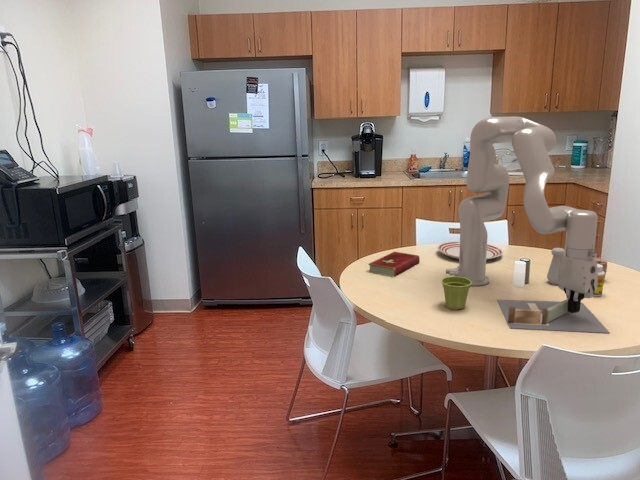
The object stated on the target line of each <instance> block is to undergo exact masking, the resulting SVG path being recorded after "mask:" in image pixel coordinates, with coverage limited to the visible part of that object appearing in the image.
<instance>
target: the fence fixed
mask: <svg viewBox="0 0 640 480" xmlns="http://www.w3.org/2000/svg"><path fill="white" fill-rule="evenodd" d="M547 311H548V309H546V308H544V309H543V315H542V324H546V321H547ZM540 320H541V310H533V309H516V308H515V307H509V315H508V322H509V323H526V324H540Z"/></svg>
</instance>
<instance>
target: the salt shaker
mask: <svg viewBox="0 0 640 480" xmlns="http://www.w3.org/2000/svg"><path fill="white" fill-rule="evenodd" d="M550 252H551V255H552V259H551V262H550V264H549V268H548V271H547V274H546V279H547V280H548V283H549V284H551V285H553V286H559V284H558V272H559V266H560V262H561V259H562V256H563V255H564V253H565V248H561V247H554V248H552V249H551V251H550Z"/></svg>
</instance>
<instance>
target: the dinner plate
mask: <svg viewBox="0 0 640 480" xmlns="http://www.w3.org/2000/svg"><path fill="white" fill-rule="evenodd" d="M437 250H438V251H439V252H440V253H441V254H443V255H445V256H447V257H450V258H452V259H455V260H458V261H459V253H460V240H458V241H447V242H443V243H440V244H439V245H438V246H437ZM503 254H504V251H503V250H502V249H501V248H499V247H498V246H496V245H492V244H489V243H487V256H486V261H487V260H491V259H495V258H498V257H500V256H502V255H503Z"/></svg>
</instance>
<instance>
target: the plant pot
mask: <svg viewBox="0 0 640 480" xmlns="http://www.w3.org/2000/svg"><path fill="white" fill-rule="evenodd" d="M454 276H455V275H451V276H446V277H443V278H442V279H440V282H441V284H442V287H443V293H444V295H443V296H444V301H445V302H444V303H445V306H446V307H447V308H448V309H450V310H454V311H455V310H464V309H465V308H466V304H467V301H468V300H467V299H468V294H469V291H470V288H471V286H470V285H471V284H472V281H471V280H469V279H467V278H464V277H454Z"/></svg>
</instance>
